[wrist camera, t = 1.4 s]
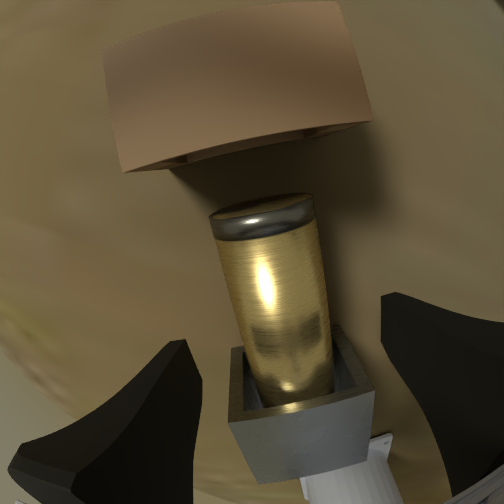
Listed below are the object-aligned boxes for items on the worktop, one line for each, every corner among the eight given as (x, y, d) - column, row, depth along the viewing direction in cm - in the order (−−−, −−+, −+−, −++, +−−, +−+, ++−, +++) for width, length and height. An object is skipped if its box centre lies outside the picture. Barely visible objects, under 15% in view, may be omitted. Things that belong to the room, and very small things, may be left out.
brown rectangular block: (324, 135, 12) (373, 120, 7) (168, 168, 12) (122, 173, 7) (304, 54, 11) (336, 1, 6) (150, 87, 11) (102, 49, 6)
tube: (329, 408, 15) (344, 453, 12) (271, 421, 16) (276, 468, 12) (301, 189, 12) (325, 200, 8) (214, 208, 12) (201, 226, 8)
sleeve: (343, 398, 16) (366, 460, 11) (254, 418, 16) (258, 484, 11) (339, 324, 14) (375, 390, 10) (231, 348, 15) (227, 422, 10)
